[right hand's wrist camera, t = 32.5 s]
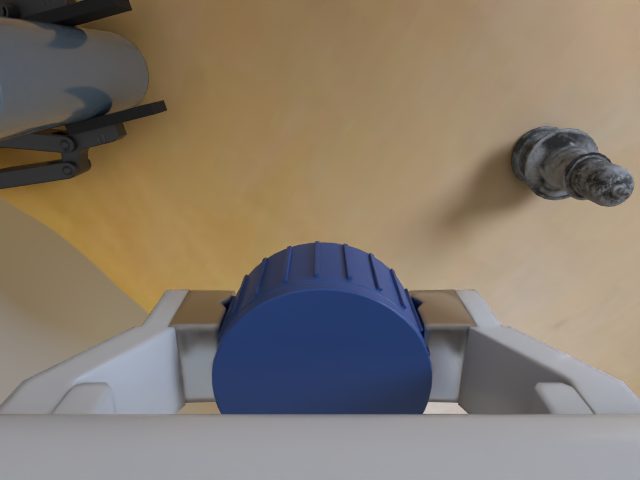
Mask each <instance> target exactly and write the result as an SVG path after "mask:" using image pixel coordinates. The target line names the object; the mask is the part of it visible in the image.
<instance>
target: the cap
mask: <svg viewBox="0 0 640 480" xmlns="http://www.w3.org/2000/svg"><path fill="white" fill-rule="evenodd" d="M421 331H423V328H422V326H421V323H420V320H419V318H418V315H417V313H416V310H415V307H414V305H413V302H412V300H411V297H410V294H409V292H408V290H407V289H404V288H403V286H402V284H401V283H400V281H399V280H398V278H397V277H396V275H395V272H394V270H393V269H389V268H388V267H387V266H385V265H384V264H383V263H382V262H381V261H379V260H378V259H376V258H375V257H374V255H373V254H371V253H370V254H368V253H366V252H364V251H361V250H359V249H356V248H353V247H350V246H348V244H344V245H341V244H336V243H319V241H316V242H315V243H308V244H302V245H297V246H294V247H291V246H289V247H287V249H285V250H282V251H280V252H278V253H276V254H274V255H272V256H271V257H269V258H264V259H263V261H262V263H260V264H259V265H258V266H257V267H256V268H255V269H254V270H253V271H252V272H251V273H250V274H249V275H245V276H244V279H243V281H242V284H241V287H240V289H239V291H238V293H237V295H236V296H233V298H232V301H231V303H230V306H229V309H228V311H227V314H226V317H225V319H224V322H223V325H222V327H221V330H220V333H219V335H218V339H220V343H219V345H218V348H217V351H216V354H215V357H214V360H213V367H212V387H213V393H214V397H215V400H216V403H217V406H218V408H219V410H220V412H221V414H423V412H424V411H425V408H426V406H427V403H428V400H429V397H430V393H431V388H432V366H431V361H430V357H429V356H430V351H429V349H427V348H426V345H425V342H424V339H423V337H422V334H421Z"/></svg>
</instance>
